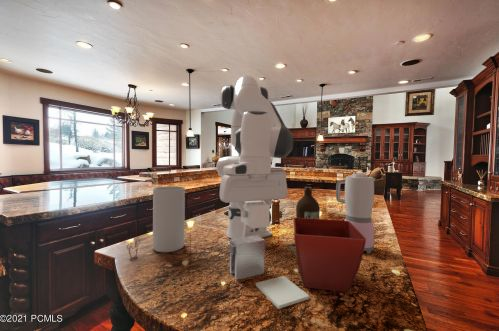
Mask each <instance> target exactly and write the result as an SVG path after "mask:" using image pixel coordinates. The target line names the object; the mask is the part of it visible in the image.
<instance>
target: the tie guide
mask: <svg viewBox="0 0 499 331" xmlns="http://www.w3.org/2000/svg"><path fill="white" fill-rule="evenodd" d="M229 240H230V241H229V242H230V243H229V246H230V245H231V244H233V245H235V254H234V255H232V254H231V253H230V252H229V273H230V275H233V274H234V280H235V281H237V280H241V279H246V278H250V277H251V278H252V277H254V276H259V275H262V274H263V275H264V274H265V249H264V246H265V239H264V238H263V237H262V238H261V237H259V236H257V235H256V236H249V237H242V238H236V239H232V238H230V239H229Z"/></svg>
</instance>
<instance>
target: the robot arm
mask: <svg viewBox="0 0 499 331" xmlns="http://www.w3.org/2000/svg"><path fill="white" fill-rule="evenodd" d="M269 98H270V97H269V92H268V89H267V88H265V87H262V86H260V85H259V83H258V81H257V79H255V77H252V76H251V75H244V76H241V77H239V79H237V81H236V83H235V85H232V84H228V85H224V87H222V90H221V92H220V95H219V99H220V103H221V106H222V107H223V109H226V110H233V111H232V116H231V123H230V143H231V146H233V147H234V150H235V151H236V153H237V154H239V155H237V156H236V155H230V156H227V155H226V156H222V157H220V158H219V159H218V160H217V162H216V172H217V174H218V175H219V176H220V177H221V180H220V185H219V199H220V201H222V202H223V203H226V204H227V203H229V206H228V212H227V213H228V214H227V215H228V225H227V230H226V234H225V236H226V237H227V238H230V239H236V238H242V237H249V236H256V235H257V236H259V237H261V238H262V239H263V238H266V237H269V236H272V232H271V230H269V229H268V228H267V227H260V228H251V227H250V226H248V225H246V224H245V223H243V222H241V217H242V218H246V217H248V211H246V210H245V209H244V207H243V206H244V205H245V201H264V203H266V204H269V205H270V207H271V206H272V204H273V201H274V200H286V198H287V197H288V184H287V172H286V170H285V169H283V168H282V167H272V158H274V159H275V158H277V159H284V158H285V157H288V155H289V154H290V153H291V152H292V151H293V148H294V138H293V134H292V132H291V131H290V129H289V128H288V127H287V126H286V124H285V123H284V120H283V119H282V117H281V115H280V114H279V113H280V112H278V110H277V108H276V106H275V104H274V103H273V102H272V101H270V99H269Z"/></svg>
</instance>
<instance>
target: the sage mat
mask: <svg viewBox="0 0 499 331" xmlns="http://www.w3.org/2000/svg"><path fill="white" fill-rule="evenodd" d="M255 286H256V288H257V289H258V290H259V291H260V292H261V293H263V295H264V296H265V298H267V299H268V300H269V301H270V302H271V303H272V304H273V305H274V306H275V307H276V308H277V309H278V310H280V309H283V308H285V307H289V306H292V305H294V304H298V303H300V302H304V301H306V300H310V295H309V294H307V293H306V292H305V291H304V290H302V289H301V288H300V287H299V286H297V285H296V284H295V283H294V282H292V281H291V280H290V279H289V278H287V277H286V276H285V275H281V276H277V277H275V278H270V279H266V280H263V281H259V282H255Z"/></svg>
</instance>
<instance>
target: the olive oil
mask: <svg viewBox="0 0 499 331" xmlns="http://www.w3.org/2000/svg"><path fill="white" fill-rule="evenodd" d="M312 189H313V187H311V186H305V187H304V190H303V191H304V192H303V193H304V194H303V196H302V197H301V198H300V199H298V201H297V203H296V206H295V212H296V216H295V218H310V219H320V212H321V211H320V210H321V208H320V204H319V202H318V201H317V200H316V198H315V197H313V190H312Z"/></svg>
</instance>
